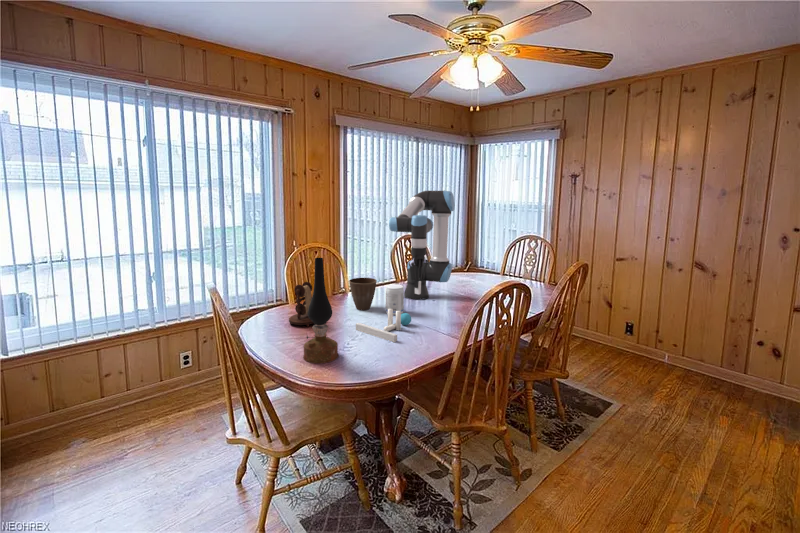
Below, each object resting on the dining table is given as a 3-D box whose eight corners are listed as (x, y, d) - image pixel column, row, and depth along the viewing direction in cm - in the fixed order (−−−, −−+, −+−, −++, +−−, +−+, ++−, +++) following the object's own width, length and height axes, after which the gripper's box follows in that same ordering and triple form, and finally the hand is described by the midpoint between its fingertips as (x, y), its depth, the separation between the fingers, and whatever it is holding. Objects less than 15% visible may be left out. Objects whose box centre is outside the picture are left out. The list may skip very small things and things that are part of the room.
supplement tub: (396, 309, 230) (396, 283, 227) (407, 313, 223) (407, 286, 220) (382, 312, 224) (382, 285, 221) (393, 316, 217) (393, 289, 214)
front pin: (396, 321, 201) (383, 326, 194) (400, 323, 199) (387, 327, 193) (396, 326, 201) (383, 331, 195) (400, 328, 200) (387, 332, 193)
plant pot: (375, 312, 223) (375, 283, 220) (347, 312, 223) (347, 283, 220) (377, 305, 238) (377, 277, 235) (351, 304, 238) (351, 277, 235)
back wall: (359, 328, 197) (359, 322, 197) (397, 341, 182) (397, 334, 181) (355, 329, 196) (355, 323, 195) (394, 342, 180) (394, 335, 180)
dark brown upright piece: (309, 329, 196) (308, 287, 192) (282, 325, 200) (281, 285, 197) (325, 320, 209) (324, 281, 206) (299, 317, 214) (298, 278, 210)
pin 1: (390, 326, 201) (390, 308, 200) (393, 327, 200) (393, 309, 198) (386, 327, 199) (386, 309, 198) (390, 328, 198) (390, 310, 196)
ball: (394, 320, 202) (400, 326, 206) (404, 322, 198) (410, 328, 202) (400, 309, 204) (406, 315, 208) (409, 311, 200) (415, 318, 204)
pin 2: (397, 328, 198) (398, 310, 196) (401, 329, 196) (402, 311, 195) (394, 330, 196) (394, 311, 195) (398, 331, 195) (398, 312, 193)
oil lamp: (339, 358, 171) (352, 261, 171) (335, 367, 156) (349, 261, 156) (305, 354, 171) (318, 257, 171) (298, 362, 155) (312, 256, 155)
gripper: (420, 245, 211) (419, 290, 216) (404, 247, 202) (403, 294, 206) (432, 246, 207) (431, 292, 211) (416, 249, 197) (415, 297, 201)
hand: (417, 293), depth 208 cm, fingers closed
